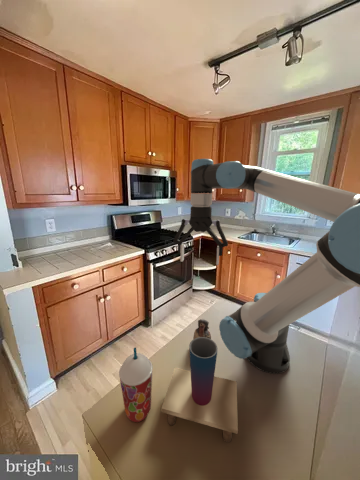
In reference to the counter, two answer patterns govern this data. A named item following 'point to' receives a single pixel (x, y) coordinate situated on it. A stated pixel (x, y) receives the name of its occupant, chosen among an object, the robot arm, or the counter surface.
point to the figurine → (202, 329)
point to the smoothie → (136, 386)
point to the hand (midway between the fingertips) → (199, 262)
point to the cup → (202, 368)
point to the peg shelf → (213, 414)
